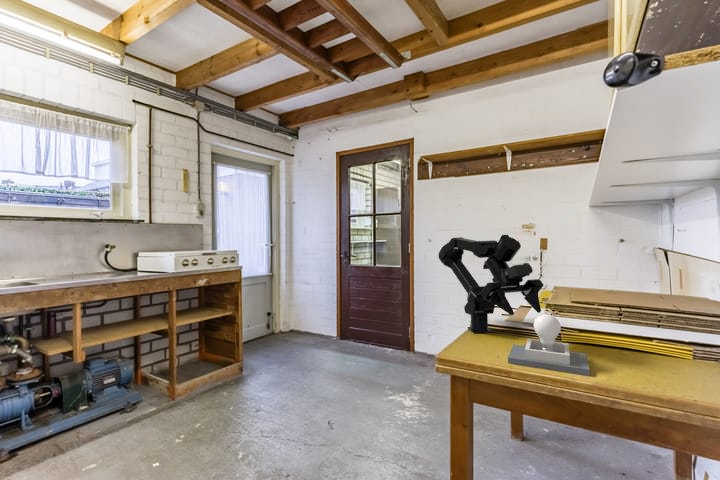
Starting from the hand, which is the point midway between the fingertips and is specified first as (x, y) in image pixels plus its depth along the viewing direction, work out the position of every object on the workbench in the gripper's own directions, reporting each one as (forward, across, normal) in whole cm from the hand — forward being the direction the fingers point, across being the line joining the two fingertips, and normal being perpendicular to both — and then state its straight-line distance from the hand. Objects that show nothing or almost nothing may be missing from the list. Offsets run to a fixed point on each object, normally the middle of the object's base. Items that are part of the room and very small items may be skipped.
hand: (526, 313), depth 97 cm
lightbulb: (+12, 0, +2) cm, 12 cm away
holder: (+13, 0, +3) cm, 13 cm away
